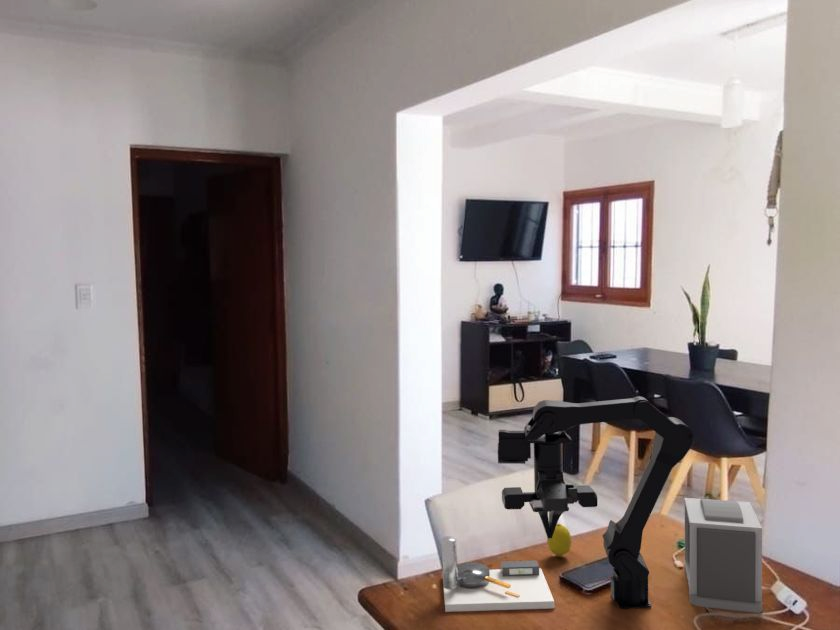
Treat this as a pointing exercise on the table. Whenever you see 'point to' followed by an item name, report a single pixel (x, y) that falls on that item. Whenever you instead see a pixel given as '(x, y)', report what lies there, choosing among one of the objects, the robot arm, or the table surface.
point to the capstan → (463, 569)
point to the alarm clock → (723, 554)
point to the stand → (504, 590)
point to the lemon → (560, 541)
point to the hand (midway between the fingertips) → (549, 537)
